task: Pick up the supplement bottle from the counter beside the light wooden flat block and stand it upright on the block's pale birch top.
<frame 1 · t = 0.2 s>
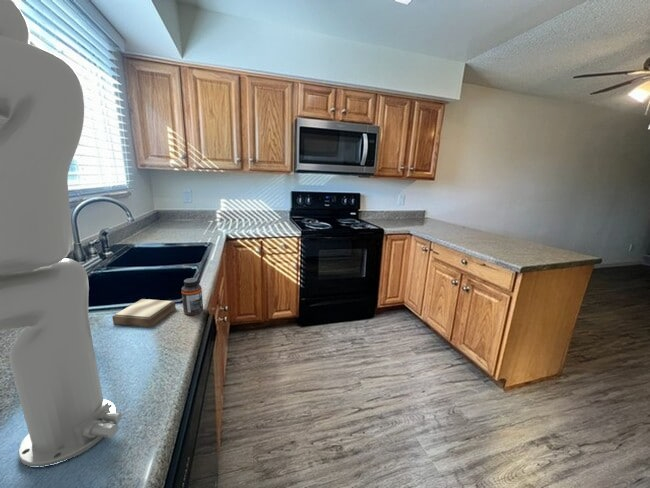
hand: (14, 205, 60), 37 cm above the worktop, tool pointing down, fingers open, 9 cm apart
supplement bottle: (193, 312, 92), on the worktop
light wooden flat block: (146, 315, 89), on the worktop
beverage cup: (78, 348, 72), on the worktop
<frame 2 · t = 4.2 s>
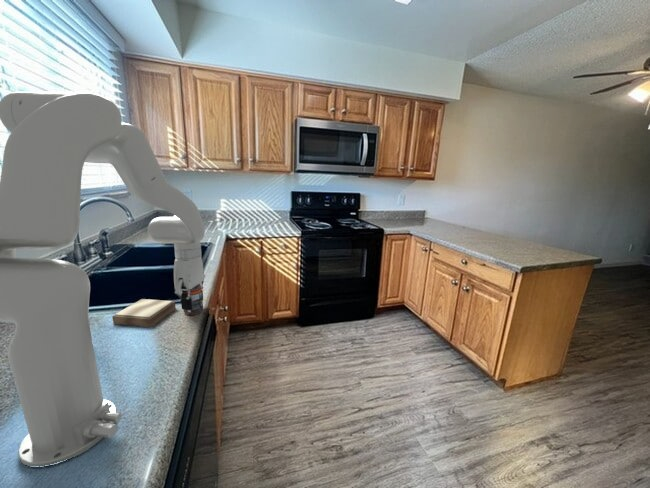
hand: (193, 304, 92), 3 cm above the worktop, tool pointing down, fingers closed on supplement bottle, 6 cm apart
supplement bottle: (193, 312, 92), on the worktop, touching gripper
everything else where it was.
when the fingers open (7 cm above the worktop, at t = 9.9 s): supplement bottle drops 1 cm, resting on light wooden flat block.
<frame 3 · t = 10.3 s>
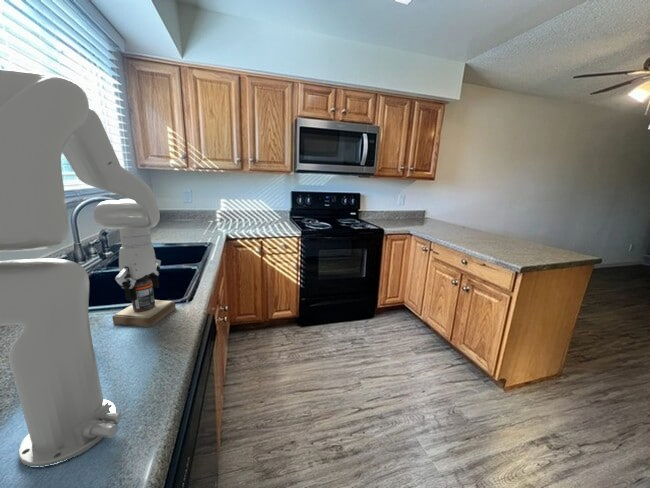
hand: (143, 293, 87), 8 cm above the worktop, tool pointing down, fingers open, 9 cm apart
supplement bottle: (144, 308, 87), point 3 cm above the worktop, touching light wooden flat block
everything else where it was.
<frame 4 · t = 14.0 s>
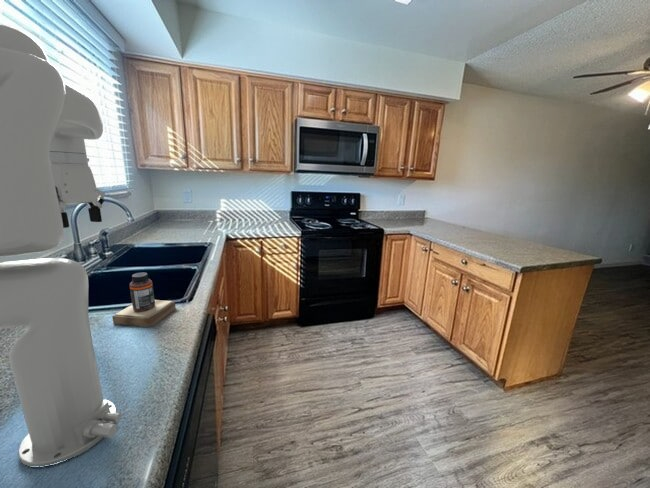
hand: (80, 224, 77), 30 cm above the worktop, tool pointing down, fingers open, 9 cm apart
nothing on the worktop moved.
at the end: supplement bottle inside the target area on the light wooden flat block (0.5 cm from its centre), point 2.8 cm above the light wooden flat block's base; supplement bottle tilted 0°; the gripper is holding nothing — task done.
